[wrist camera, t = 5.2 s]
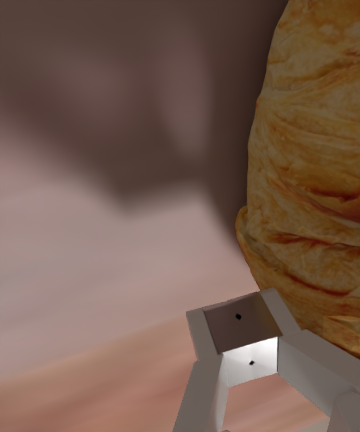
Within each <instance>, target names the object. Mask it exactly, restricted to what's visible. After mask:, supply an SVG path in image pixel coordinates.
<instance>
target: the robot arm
mask: <svg viewBox="0 0 360 432" xmlns="http://www.w3.org/2000/svg"><path fill="white" fill-rule="evenodd" d="M186 317H187V321H188V325H189V330H190V334H191V338H192V342H193V346H194V350H195V354H196V358H197V361H196V362H194V364H193V368H192V371H191V374H190V377H189V380H188V384H187V387H186V390H185V393H184V396H183V400H182V403H181V406H180V409H179V412H178V416H177V419H176V422H175V425H174V428H173V432H221V430H222V425H223V419H224V413H225V408H226V402H227V397H228V391H229V387H232V386H235V385H237V384H240V383H243V382H246V381H249V380H252V379H256V378H260V377H263V376H267V375H271V374H274V373H278V375H279V376H280V377H282V378H283V379H284V380H285V381H286V382H288V383H289V384H290V385H291V386H292V387H294V388H295V389H296V390H297V391H299V392H300V393H301V394H302V395H303V396H305V397H306V398H307V399H308V400H309V401H311V402H312V403H313V404H314V405H315V406H317V407H318V408H319V409H320V410H321V411H323V412H324V413H325V414H326V415H327V416H329V417H330V422H329V426H328V430H327V432H360V360H359V359H357V358H355V357H354V356H352V355H350V354H349V353H347V352H345V351H343V350H342V349H340V348H338V347H336V346H335V345H333V344H331V343H330V342H328V341H326V340H324V339H323V338H321V337H319V336H317V335H316V334H314V333H312V332H311V331H309V330H307V329H305V330H301V328H300V327H299V325H298V324H297V322H296V320H295V319H294V317H293V316H292V314H291V312H290V311H289V309H288V308H287V306H286V304H285V303H284V301H283V300H282V298H281V296H280V295H279V293H278V292H277V290H276V289H275V288H269V289H266V290H262V291H259V292H254V293H250V294H247V295H244V296H240V297H237V298H233V299H230V300H227V301H225V302H221V303H217V304H213V305H209V306H205V307H202V308H198V309H194V310H190V311H187V312H186ZM222 432H230V431H228V430H225V431H222Z"/></svg>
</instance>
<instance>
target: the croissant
mask: <svg viewBox="0 0 360 432" xmlns="http://www.w3.org/2000/svg"><path fill="white" fill-rule="evenodd" d="M266 67H267V71H266V75H265V79H264V83H263V87H262V91H261V94H260V95H259V97H258V99H257V101H256V112H255V117H254V121H253V125H252V128H251V132H250V136H249V141H248V173H247V206H244V207H242V208H241V209H240V211H239V213H238V215H237V217H236V223H235V232H236V237H237V241H238V243H239V246H240V248H241V251H242V253H243V255H244V258H245V260H246V262H247V264H248V266H249V267H250V271H251V273H252V276H253V277H254V279H255V281H256V283H257V285H258V287H259V289H260V291H262V290H266V289H269V288H275V289H276V290H277V292H278V293H279V295H280V296H281V298H282V300H283V301H284V303H285V304H286V306H287V308H288V309H289V311H290V312H291V314H292V316H293V317H294V319H295V320H296V322H297V324H298V325H299V327H300V328H301V330H305V329H307V330H309V331H311V332H312V333H314V334H316V335H317V336H319V337H321V338H323V339H324V340H326V341H328V342H330V343H331V344H333V345H335V346H336V347H338V348H340V349H342V350H343V351H345V352H347V353H349V354H350V355H352V356H354V357H355V358H357V359H359V360H360V0H289V1H288V3H287V5H286V8H285V10H284V12H283V14H282V16H281V18H280V20H279V22H278V24H277V26H276V28H275V31H274V35H273V39H272V43H271V47H270V51H269V55H268V59H267V66H266Z"/></svg>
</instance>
